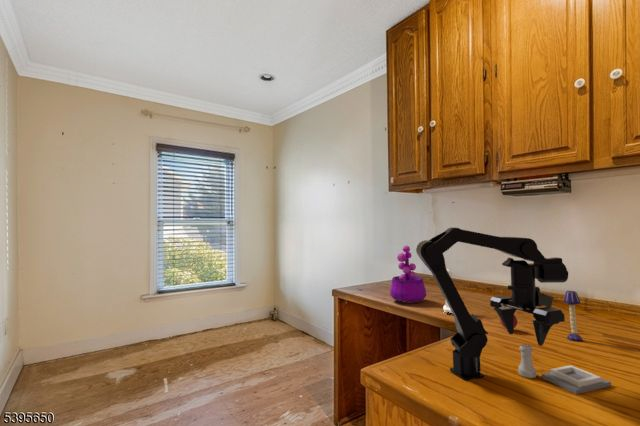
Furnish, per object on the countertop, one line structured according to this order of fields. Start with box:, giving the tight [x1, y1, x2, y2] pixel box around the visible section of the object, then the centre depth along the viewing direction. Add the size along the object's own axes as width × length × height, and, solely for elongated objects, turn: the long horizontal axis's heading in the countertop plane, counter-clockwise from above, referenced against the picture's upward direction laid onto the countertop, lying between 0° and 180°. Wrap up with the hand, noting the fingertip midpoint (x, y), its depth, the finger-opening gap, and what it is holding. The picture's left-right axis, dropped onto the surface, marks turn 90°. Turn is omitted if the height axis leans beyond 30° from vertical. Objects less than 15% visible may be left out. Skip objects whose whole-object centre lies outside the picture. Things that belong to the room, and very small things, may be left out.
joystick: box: [442, 268, 453, 314], centre depth 153 cm, size 11×8×20 cm
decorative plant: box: [389, 244, 427, 303], centre depth 175 cm, size 19×18×30 cm
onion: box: [499, 314, 518, 329], centre depth 126 cm, size 6×6×8 cm
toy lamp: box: [563, 290, 583, 342], centre depth 115 cm, size 5×5×17 cm
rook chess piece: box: [517, 343, 538, 379], centre depth 90 cm, size 4×4×8 cm
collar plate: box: [541, 364, 612, 395], centre depth 85 cm, size 12×9×2 cm
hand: (525, 339), depth 90 cm, fingers open, 9 cm apart
